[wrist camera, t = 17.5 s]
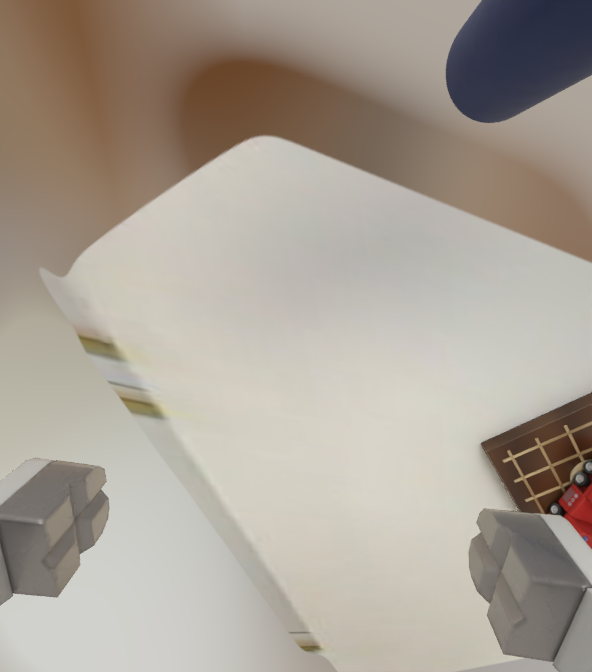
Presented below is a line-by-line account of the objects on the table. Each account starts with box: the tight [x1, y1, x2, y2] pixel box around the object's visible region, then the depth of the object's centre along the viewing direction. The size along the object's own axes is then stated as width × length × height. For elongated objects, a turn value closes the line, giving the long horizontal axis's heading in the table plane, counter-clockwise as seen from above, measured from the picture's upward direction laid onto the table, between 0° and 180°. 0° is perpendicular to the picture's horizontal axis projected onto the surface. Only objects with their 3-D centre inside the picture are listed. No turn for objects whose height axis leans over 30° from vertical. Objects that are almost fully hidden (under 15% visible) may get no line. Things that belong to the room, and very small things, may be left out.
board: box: [481, 393, 592, 514], centre depth 39 cm, size 16×16×2 cm
